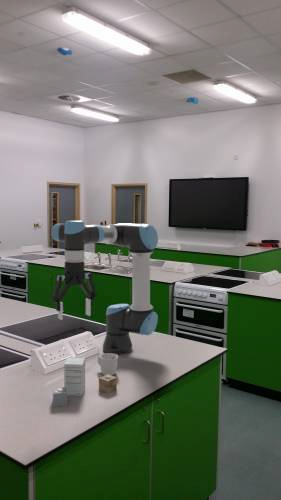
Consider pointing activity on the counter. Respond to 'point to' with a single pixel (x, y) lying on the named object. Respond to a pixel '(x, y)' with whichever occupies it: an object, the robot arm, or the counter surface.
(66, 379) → the miniature drawer cabinet
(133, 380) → the counter surface
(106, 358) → the cup
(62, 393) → the slate block
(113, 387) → the beige speckled cube
